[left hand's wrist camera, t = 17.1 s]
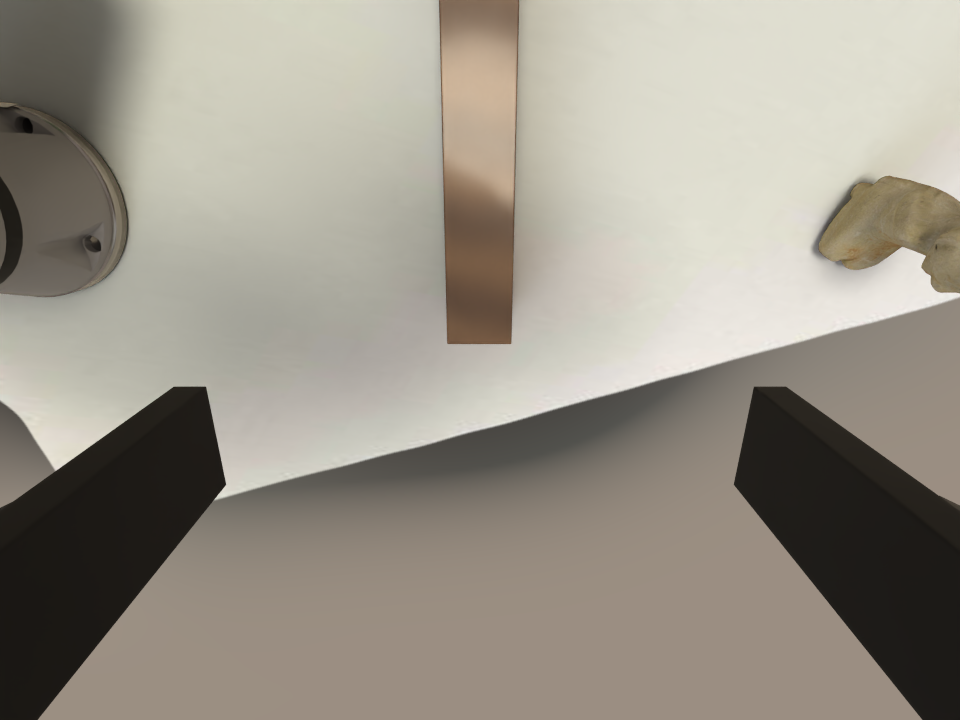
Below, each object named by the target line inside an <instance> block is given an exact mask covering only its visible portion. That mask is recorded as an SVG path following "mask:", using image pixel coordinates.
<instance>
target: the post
mask: <svg viewBox="0 0 960 720" xmlns="http://www.w3.org/2000/svg"><path fill="white" fill-rule="evenodd" d="M439 13H440V55H441V97H442V139H443V182H444V224H445V266H446V308H447V343H448V344H511V333H512V289H513V245H514V201H515V157H516V113H517V69H518V25H519V0H439Z"/></svg>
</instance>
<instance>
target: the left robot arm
mask: <svg viewBox="0 0 960 720" xmlns="http://www.w3.org/2000/svg"><path fill="white" fill-rule="evenodd" d="M16 105H17V104H15V103H5V102H0V294H12V295H24V296H35V297H55V296H61V295H65V294H69V293H72V292H75V291H79V290H82V289H85V288H88V287H90V286H93V285H94V284H96V283H98V282H99V281H101V280H102V279H104V278H105V277H106V276H107V275H108V274H109V273H110V272H111V271H112V270H113V268H114V267H115V266H116V264H117V262H118V261H119V259H120V257H121V255H122V252H123V249H124V246H125V241H126V234H127V218H126V210H125V205H124V201H123V198H122V195H121V192H120V189H119V187H118V184H117V182H116V180H115V178H114V176H113V174H112V172H111V171H110V169H109V167H108V166H107V164H106V163H105V162H104V160H103V159H102V157H101V156H100V155H99V154H98V152H97V151H96V150H95V149H94V148H93V147H92V146H91V145H90V144H89V143H88V142H87V141H86V140H85V139H84V138H83V137H82V136H81V135H80V134H79V133H77V132H76V131H75V130H73V129H72V128H71V127H69V126H68V125H66V124H65V123H63V122H62V121H60V120H58V119H56V118H54V117H52V116H50V115H48V114H46V113H43V112H41V111H38V110H35V109H32V108H27V107H23V106H16ZM225 485H226V482H225V477H224V472H223V467H222V462H221V457H220V453H219V448H218V443H217V438H216V433H215V428H214V423H213V419H212V414H211V409H210V404H209V399H208V394H207V389H206V387H173V388H172V389H170V390H169V391H167V392H166V393H165V394H163V395H162V396H160V397H159V398H158V399H156V400H155V401H153V402H152V403H151V404H149V405H148V406H146V407H145V408H144V409H142V410H141V411H139V412H138V413H137V414H135V415H134V416H132V417H131V418H130V419H128V420H127V421H125V422H124V423H123V424H121V425H120V426H118V427H117V428H116V429H114V430H113V431H111V432H110V433H109V434H107V435H106V436H104V437H103V438H102V439H100V440H99V441H97V442H96V443H95V444H93V445H92V446H90V447H89V448H88V449H86V450H85V451H83V452H82V453H81V454H79V455H78V456H76V457H75V458H74V459H72V460H71V461H69V462H68V463H67V464H65V465H64V466H62V467H61V468H60V469H58V470H57V471H55V472H54V473H53V474H51V475H50V476H48V477H47V478H46V479H44V480H43V481H41V482H40V483H39V484H37V485H36V486H34V487H33V488H32V489H30V490H29V491H27V492H26V493H25V494H23V495H22V496H20V497H19V498H18V499H16V500H15V501H13V502H11V503H9V504H7V505H5V506H3V507H1V508H0V720H38V719H39V717H40V716H41V715H42V713H43V712H44V711H45V710H46V709H47V707H48V706H49V705H50V704H51V702H52V701H53V700H54V699H55V697H56V696H57V695H58V694H59V692H60V691H61V690H62V689H63V687H64V686H65V685H66V684H67V682H68V681H69V680H70V679H71V677H72V676H73V675H74V674H75V672H76V671H77V670H78V669H79V667H80V666H81V665H82V664H83V662H84V661H85V660H86V659H87V657H88V656H89V655H90V654H91V652H92V651H93V650H94V649H95V647H96V646H97V645H98V644H99V642H100V641H101V640H102V639H103V637H104V636H105V635H106V634H107V632H108V631H109V630H110V629H111V627H112V626H113V625H114V624H115V623H116V621H117V620H118V619H119V618H120V616H121V615H122V614H123V613H124V611H125V610H126V609H127V608H128V606H129V605H130V604H131V603H132V601H133V600H134V599H135V598H136V596H137V595H138V594H139V593H140V591H141V590H142V589H143V588H144V586H145V585H146V584H147V583H148V581H149V580H150V579H151V578H152V576H153V575H154V574H155V573H156V571H157V570H158V569H159V568H160V566H161V565H162V564H163V563H164V561H165V560H166V559H167V558H168V556H169V555H170V554H171V553H172V551H173V550H174V549H175V548H176V546H177V545H178V544H179V543H180V541H181V540H182V539H183V538H184V536H185V535H186V534H187V533H188V531H189V530H190V529H191V528H192V526H193V525H194V524H195V523H196V522H197V520H198V519H199V518H200V517H201V515H202V514H203V513H204V511H205V510H206V509H207V508H208V507H209V505H210V504H211V503H212V502H213V500H214V499H215V498H216V497H217V495H218V494H219V493H220V492H221V490H222V489H223V488H224V487H225ZM734 485H735V487H736V488H737V489H738V490H739V492H740V493H741V494H742V495H743V497H744V498H745V499H746V500H747V502H748V503H749V504H750V505H751V507H752V508H753V509H754V510H755V512H756V513H757V514H758V515H759V517H760V518H761V519H762V520H763V521H764V523H765V524H766V525H767V526H768V528H769V529H770V530H771V532H772V533H773V534H774V535H775V536H776V538H777V539H778V540H779V541H780V543H781V544H782V545H783V546H784V548H785V549H786V550H787V551H788V553H789V554H790V555H791V556H792V558H793V559H794V560H795V561H796V563H797V564H798V565H799V566H800V568H801V569H802V570H803V571H804V573H805V574H806V575H807V576H808V578H809V579H810V580H811V581H812V583H813V584H814V585H815V586H816V588H817V589H818V590H819V591H820V593H821V594H822V595H823V596H824V597H825V599H826V600H827V601H828V603H829V604H830V605H831V606H832V608H833V609H834V610H835V611H836V613H837V614H838V615H839V616H840V617H841V619H842V620H843V621H844V623H845V624H846V625H847V626H848V628H849V629H850V630H851V631H852V632H853V634H854V635H855V636H856V637H857V639H858V640H859V641H860V642H861V644H862V645H863V646H864V647H865V649H866V650H867V651H868V652H869V654H870V655H871V656H872V657H873V659H874V660H875V661H876V662H877V664H878V665H879V666H880V667H881V669H882V670H883V671H884V672H885V674H886V675H887V676H888V677H889V679H890V680H891V681H892V682H893V684H894V685H895V686H896V687H897V689H898V690H899V691H900V692H901V694H902V695H903V696H904V697H905V699H906V700H907V701H908V702H909V704H910V705H911V706H912V707H913V709H914V710H915V711H916V712H917V714H918V715H919V716H920V717H921V718H922V720H960V505H957V504H955V503H953V502H951V501H949V500H947V499H945V498H943V497H941V496H938V495H937V494H935V493H934V492H933V491H931V490H930V489H928V488H927V487H926V486H924V485H923V484H921V483H920V482H919V481H917V480H916V479H914V478H913V477H912V476H910V475H909V474H907V473H906V472H905V471H903V470H902V469H900V468H899V467H898V466H896V465H895V464H893V463H892V462H891V461H889V460H888V459H886V458H885V457H884V456H882V455H881V454H879V453H878V452H877V451H875V450H874V449H872V448H871V447H870V446H868V445H867V444H865V443H864V442H863V441H861V440H860V439H858V438H857V437H856V436H854V435H853V434H851V433H850V432H849V431H847V430H846V429H844V428H843V427H842V426H840V425H839V424H837V423H836V422H835V421H833V420H832V419H830V418H829V417H828V416H826V415H825V414H823V413H822V412H821V411H819V410H818V409H816V408H815V407H814V406H812V405H811V404H809V403H808V402H807V401H805V400H804V399H802V398H801V397H800V396H798V395H797V394H795V393H794V392H793V391H791V390H790V389H788V388H787V387H754V389H753V394H752V399H751V404H750V409H749V414H748V419H747V423H746V428H745V433H744V438H743V443H742V448H741V453H740V457H739V462H738V467H737V472H736V477H735V482H734Z"/></svg>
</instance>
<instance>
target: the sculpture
mask: <svg viewBox="0 0 960 720" xmlns="http://www.w3.org/2000/svg"><path fill="white" fill-rule="evenodd" d="M850 196H851V197H852V198H851V200H850V201H849V202H848V203H847V204H846V205H845V206H844V207H843V208H842V209H841V210H840V212H839V213H838V214H837V215H836V217H835V218H834V219H833V221H832V222H831V223H830V225H829V226H828V228H827V230H826V231H825V232H824V234H823V236H822V238H821V241H820V243H819V251H820V252H821V253H822V254H823V255H824V256H825V257H826V258H828V259H829V260H831V261H839V260H841V261H842V263H843V265H844V266H845V267H846V268H848V269H852V270H859V269H864V268H868V267H871V266H874V265H876V264H878V263H880V262H881V261H883V260H884V259H885V258H887V257H888V256H890V255H891V254H892V253H894V252H895V251H897V250H898V249H899V248H901V247H905V248H908V249H911V250H913V251H916V252H918V253H921V254H923V255H926V257H925V259H924V261H923V263H922V266H921V267H922V269H923V270H924V271H925V272H926V273H927V274H929V275H931V285H932V287H933V288H934V289H935V290H936V291H937V292H941V293H943V292H956V293H960V202H959V201H958V200H957V199H955V198H954V197H952V196H951V195H949V194H947V193H945V192H943V191H941V190H939V189H937V188H934V187H931V186H928V185H924V184H920V183H917V182H914V181H911V180H906V179H901V178H897V177H892V176H885V177H883V178H881V179H879V180H878V181H877V182H876V183H875V184H870V183H859V184H857V185H856V186H855V187H854V188H853V190H852V191H851V194H850Z"/></svg>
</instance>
